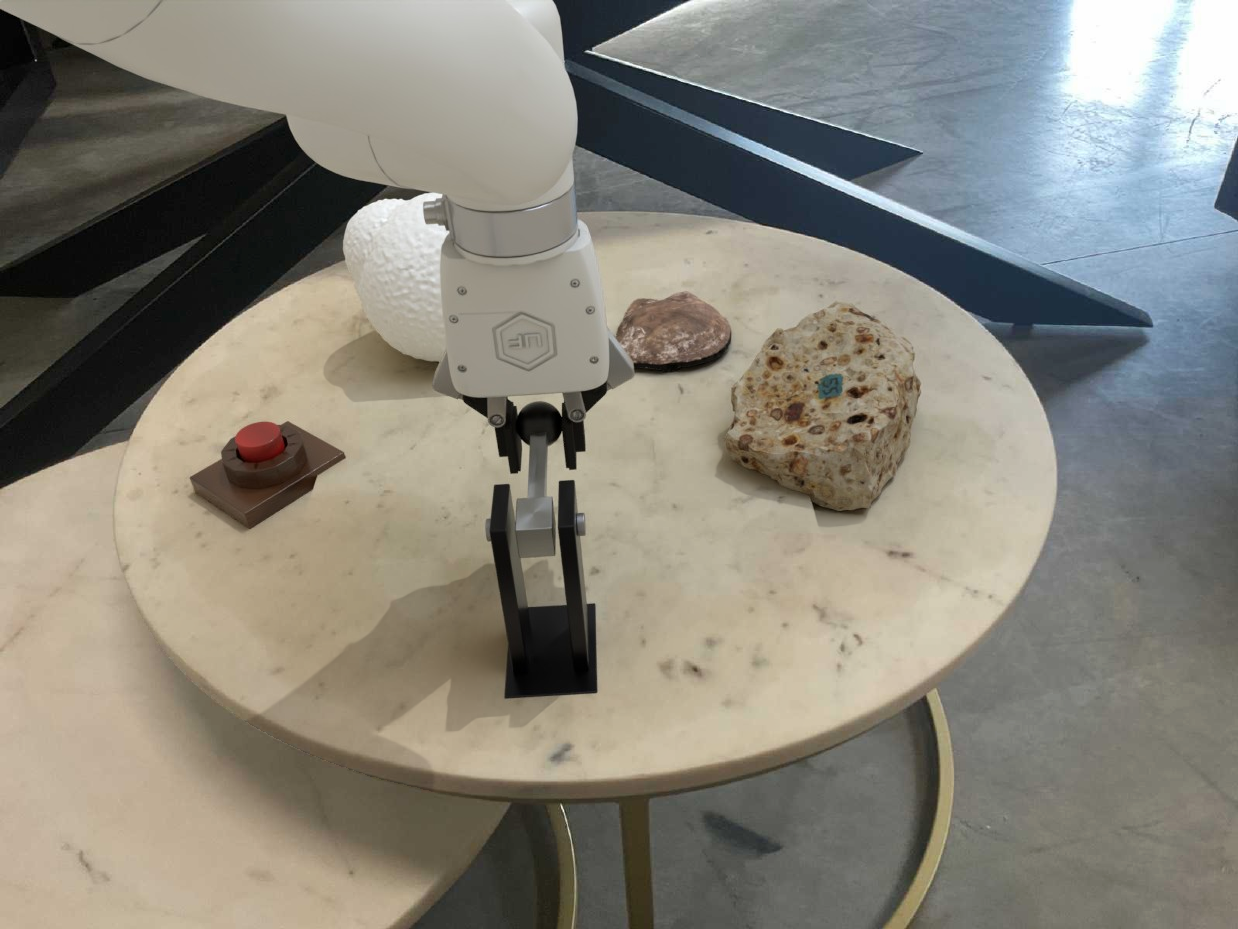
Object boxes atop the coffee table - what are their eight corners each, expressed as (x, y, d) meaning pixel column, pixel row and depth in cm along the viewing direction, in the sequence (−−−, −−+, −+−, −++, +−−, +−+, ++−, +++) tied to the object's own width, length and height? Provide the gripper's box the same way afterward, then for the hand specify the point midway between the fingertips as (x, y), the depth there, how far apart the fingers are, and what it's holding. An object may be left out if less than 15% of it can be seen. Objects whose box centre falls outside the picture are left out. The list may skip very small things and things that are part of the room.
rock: (899, 535, 79) (879, 436, 74) (725, 526, 86) (694, 434, 80) (943, 373, 93) (929, 278, 87) (790, 376, 100) (767, 289, 94)
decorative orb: (511, 407, 94) (488, 247, 85) (327, 401, 97) (284, 245, 87) (549, 300, 110) (534, 155, 100) (390, 298, 112) (360, 156, 103)
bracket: (512, 619, 73) (487, 466, 65) (596, 614, 73) (582, 460, 65) (506, 709, 67) (478, 552, 58) (598, 704, 67) (583, 546, 58)
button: (257, 469, 84) (251, 452, 83) (232, 454, 86) (226, 436, 84) (293, 447, 86) (288, 430, 85) (268, 433, 88) (262, 416, 87)
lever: (519, 429, 73) (514, 393, 70) (564, 426, 72) (561, 390, 70) (511, 563, 63) (505, 526, 61) (564, 560, 63) (559, 522, 61)
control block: (250, 530, 82) (238, 496, 80) (194, 492, 87) (181, 459, 85) (348, 467, 88) (339, 434, 86) (292, 435, 93) (282, 403, 90)
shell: (742, 313, 106) (743, 282, 104) (719, 380, 96) (720, 347, 94) (633, 304, 108) (632, 273, 106) (601, 368, 99) (599, 335, 97)
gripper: (365, 252, 58) (421, 501, 69) (656, 233, 58) (665, 486, 69) (384, 198, 64) (432, 435, 75) (648, 180, 64) (657, 421, 75)
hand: (543, 457), depth 72 cm, fingers closed on lever, 3 cm apart
